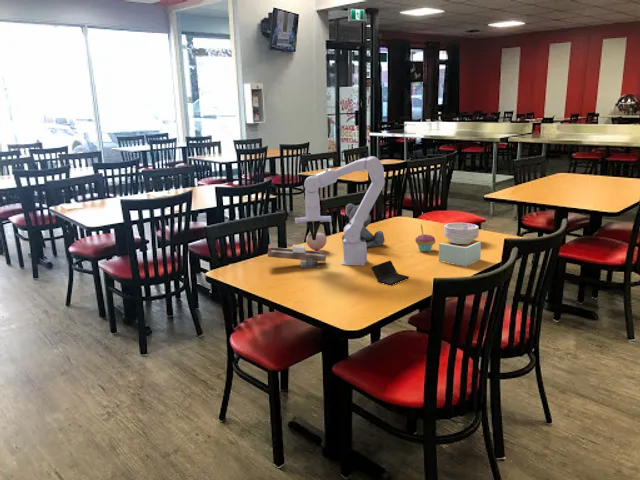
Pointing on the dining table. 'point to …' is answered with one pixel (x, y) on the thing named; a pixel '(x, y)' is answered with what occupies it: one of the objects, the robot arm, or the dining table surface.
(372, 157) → the robot arm
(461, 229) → the paper bowls
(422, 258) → the dining table surface
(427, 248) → the cupcake
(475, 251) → the pale blue squat box
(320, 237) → the decorative fruit
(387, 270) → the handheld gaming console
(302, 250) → the block
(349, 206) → the koala plush
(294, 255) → the beam
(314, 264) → the fulcrum stand
